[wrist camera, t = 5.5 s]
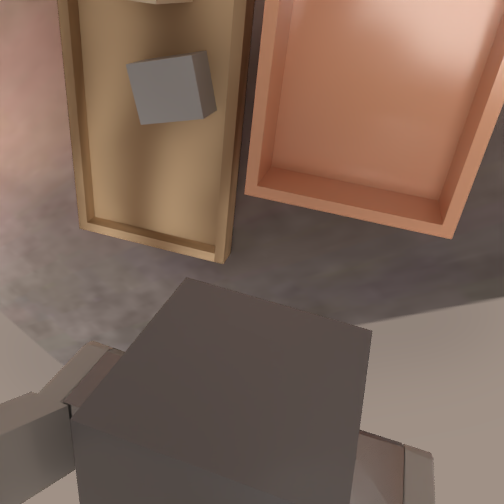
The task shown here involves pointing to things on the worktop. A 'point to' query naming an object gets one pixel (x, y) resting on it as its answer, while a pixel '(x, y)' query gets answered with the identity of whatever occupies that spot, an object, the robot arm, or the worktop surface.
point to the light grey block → (172, 88)
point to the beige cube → (162, 1)
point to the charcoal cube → (226, 407)
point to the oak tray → (159, 134)
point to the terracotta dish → (376, 107)
